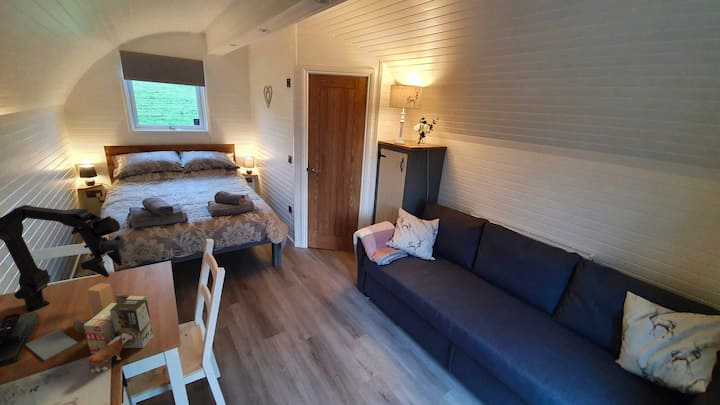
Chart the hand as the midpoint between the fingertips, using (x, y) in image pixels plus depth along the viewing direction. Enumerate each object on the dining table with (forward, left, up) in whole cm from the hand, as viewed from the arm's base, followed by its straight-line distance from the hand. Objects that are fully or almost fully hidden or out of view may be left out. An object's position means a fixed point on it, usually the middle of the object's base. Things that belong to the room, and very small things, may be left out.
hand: (114, 271), depth 129 cm
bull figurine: (+32, -19, -16) cm, 41 cm away
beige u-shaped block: (+6, -8, -15) cm, 18 cm away
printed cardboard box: (+20, -10, -16) cm, 27 cm away
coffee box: (+29, -10, -16) cm, 35 cm away
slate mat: (+6, -25, -15) cm, 30 cm away
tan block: (+5, -8, -15) cm, 18 cm away
